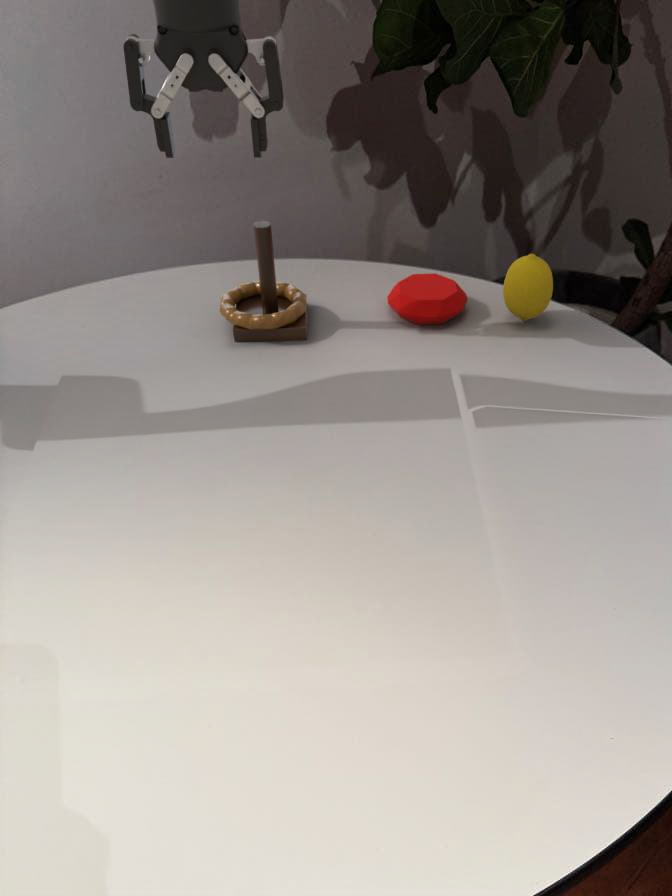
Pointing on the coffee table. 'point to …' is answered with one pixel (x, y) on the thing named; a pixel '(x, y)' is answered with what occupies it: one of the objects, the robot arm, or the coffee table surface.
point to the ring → (262, 319)
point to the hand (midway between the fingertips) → (215, 155)
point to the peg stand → (268, 296)
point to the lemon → (528, 287)
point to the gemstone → (427, 298)
